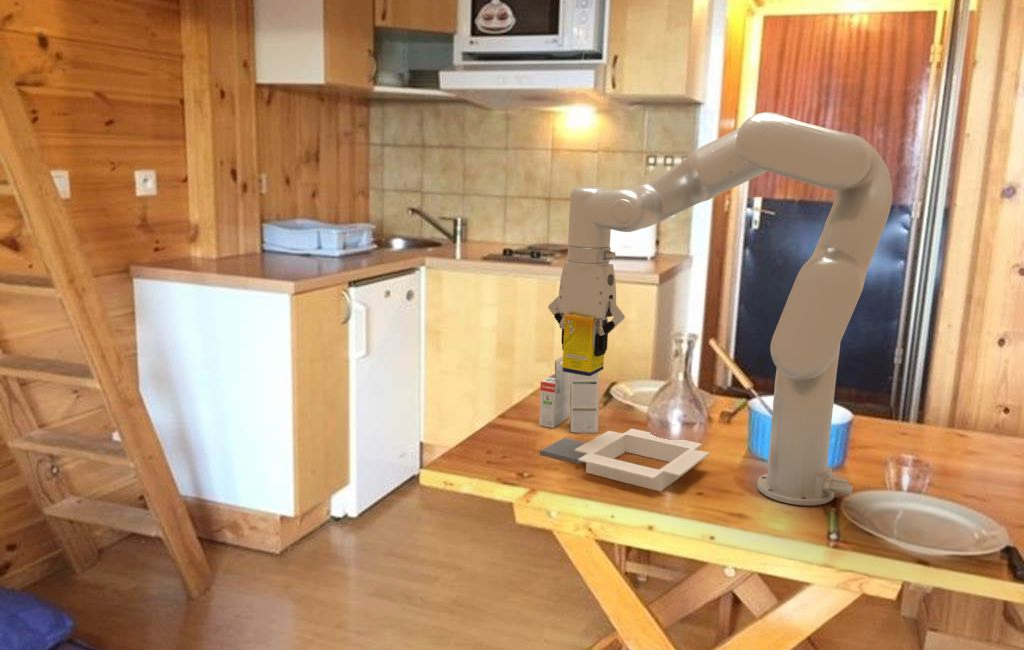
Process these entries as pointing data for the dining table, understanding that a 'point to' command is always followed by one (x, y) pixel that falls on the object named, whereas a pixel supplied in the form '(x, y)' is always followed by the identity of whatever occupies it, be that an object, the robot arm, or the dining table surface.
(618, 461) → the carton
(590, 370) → the supplement box
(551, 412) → the ink box
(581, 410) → the syrup box
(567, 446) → the coaster
